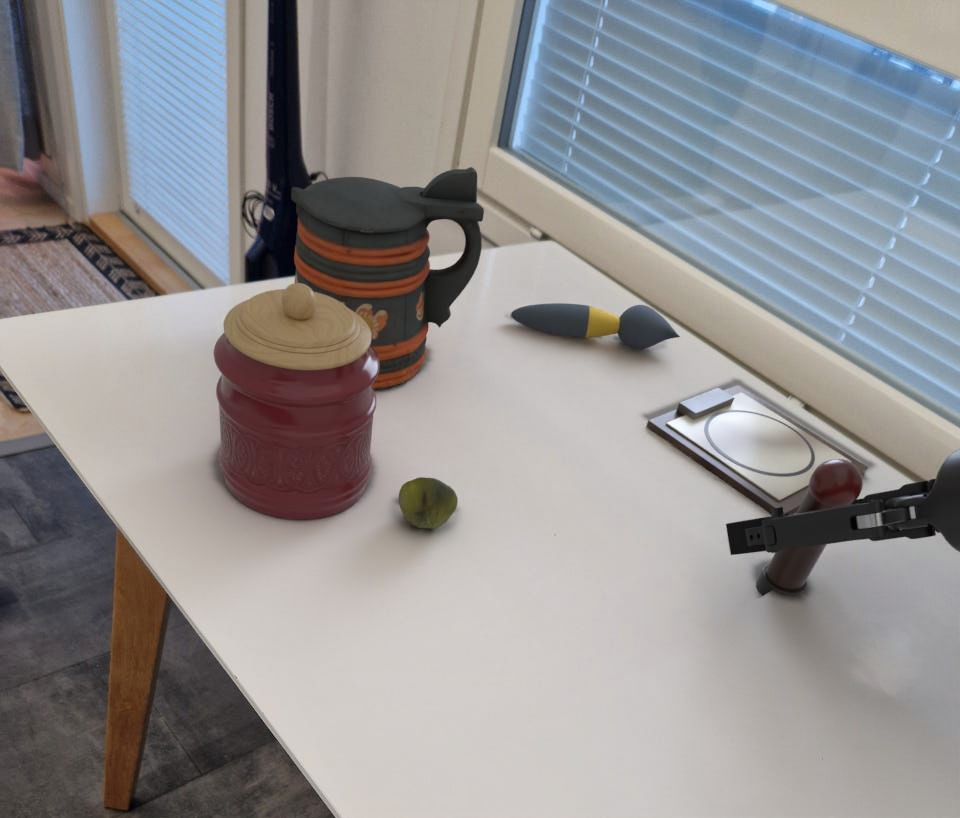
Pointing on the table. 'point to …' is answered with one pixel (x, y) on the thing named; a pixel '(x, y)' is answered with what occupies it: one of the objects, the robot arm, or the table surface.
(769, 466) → the clipboard
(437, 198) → the beer stein
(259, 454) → the kitchen canister
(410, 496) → the lime
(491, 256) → the table surface
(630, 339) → the paintbrush
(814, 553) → the dot stamp
